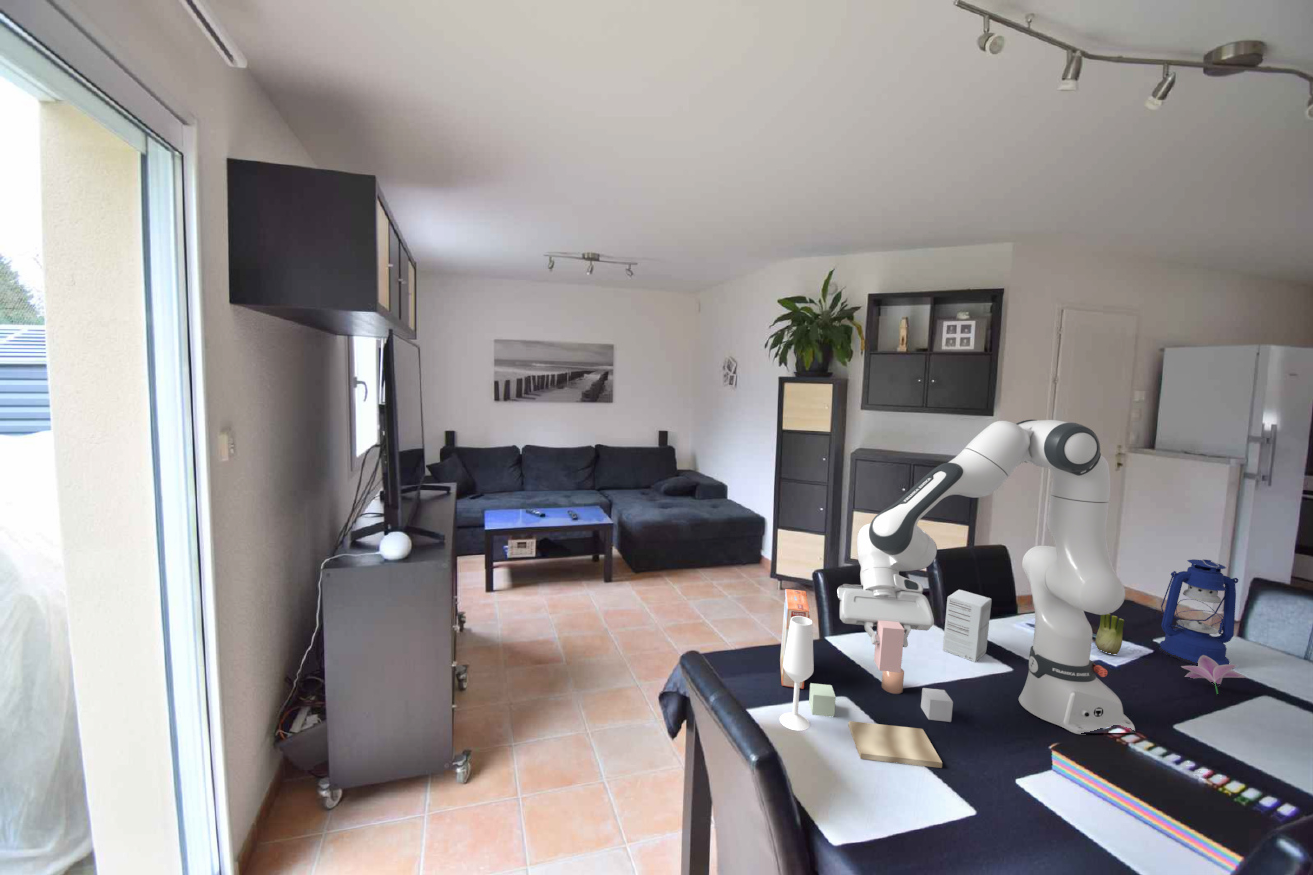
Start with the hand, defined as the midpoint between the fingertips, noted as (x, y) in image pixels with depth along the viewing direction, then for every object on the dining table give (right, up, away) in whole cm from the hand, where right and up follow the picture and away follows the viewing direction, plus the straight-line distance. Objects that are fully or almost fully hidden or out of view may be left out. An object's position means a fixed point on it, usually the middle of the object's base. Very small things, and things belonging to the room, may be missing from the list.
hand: (889, 645), depth 122 cm
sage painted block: (-13, -18, +8) cm, 24 cm away
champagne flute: (-21, -19, +3) cm, 28 cm away
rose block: (0, -5, +1) cm, 5 cm away
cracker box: (-16, -17, +23) cm, 33 cm away
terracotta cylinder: (+8, -18, +18) cm, 27 cm away
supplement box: (+39, -17, +40) cm, 58 cm away
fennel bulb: (+84, -19, +43) cm, 96 cm away
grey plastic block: (+14, -19, +8) cm, 25 cm away
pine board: (-1, -20, -5) cm, 20 cm away
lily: (+96, -21, +24) cm, 101 cm away
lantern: (+110, -20, +43) cm, 119 cm away
